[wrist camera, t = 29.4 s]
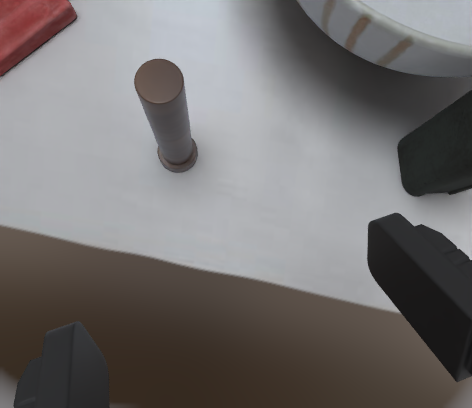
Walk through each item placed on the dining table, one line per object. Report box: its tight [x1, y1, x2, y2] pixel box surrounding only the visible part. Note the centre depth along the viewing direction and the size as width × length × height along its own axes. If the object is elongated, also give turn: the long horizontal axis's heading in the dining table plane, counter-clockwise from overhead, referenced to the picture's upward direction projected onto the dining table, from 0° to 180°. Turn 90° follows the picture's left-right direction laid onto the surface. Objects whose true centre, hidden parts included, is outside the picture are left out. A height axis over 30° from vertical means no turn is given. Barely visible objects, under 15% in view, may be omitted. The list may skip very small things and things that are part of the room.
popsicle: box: [0, 0, 77, 76], centre depth 31 cm, size 4×2×15 cm
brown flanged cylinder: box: [134, 59, 197, 172], centre depth 25 cm, size 3×3×12 cm
